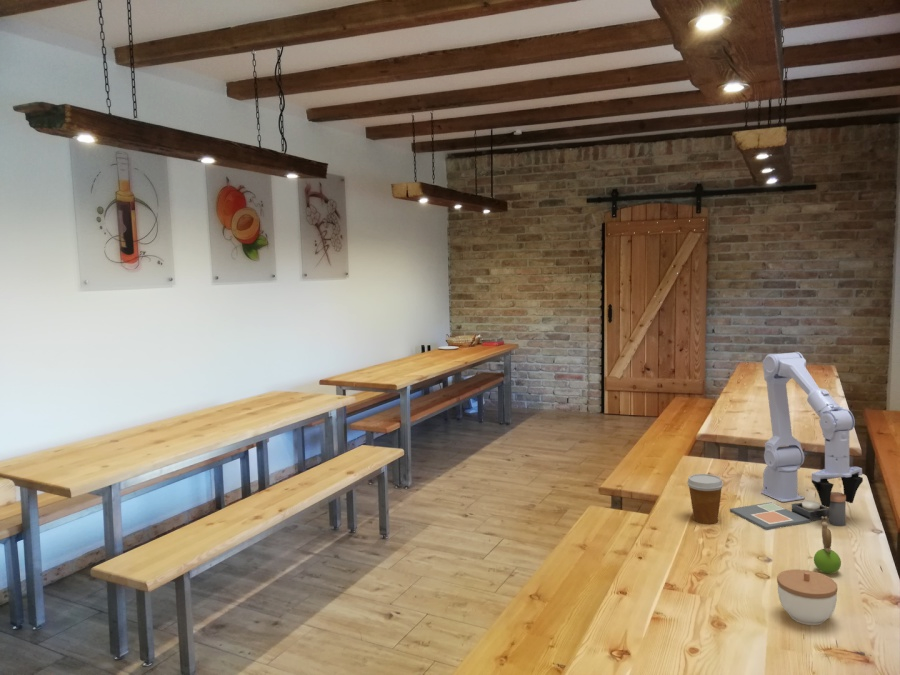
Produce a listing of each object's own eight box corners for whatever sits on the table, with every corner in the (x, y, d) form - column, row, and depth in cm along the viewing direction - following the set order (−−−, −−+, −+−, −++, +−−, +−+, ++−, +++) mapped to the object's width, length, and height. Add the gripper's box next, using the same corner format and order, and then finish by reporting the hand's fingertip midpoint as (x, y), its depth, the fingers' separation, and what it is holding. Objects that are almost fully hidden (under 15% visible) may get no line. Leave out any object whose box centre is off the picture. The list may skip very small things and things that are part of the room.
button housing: (791, 513, 190) (791, 504, 190) (811, 509, 192) (811, 501, 192) (810, 521, 184) (810, 512, 183) (830, 518, 185) (830, 508, 185)
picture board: (729, 511, 194) (729, 508, 194) (771, 504, 197) (771, 501, 197) (765, 530, 180) (765, 526, 179) (809, 522, 183) (809, 519, 183)
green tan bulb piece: (837, 566, 157) (837, 516, 155) (843, 578, 151) (843, 527, 149) (811, 564, 158) (811, 515, 157) (816, 576, 152) (816, 525, 151)
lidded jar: (811, 637, 128) (811, 590, 127) (765, 612, 138) (765, 568, 137) (849, 622, 133) (850, 577, 132) (802, 599, 142) (802, 557, 142)
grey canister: (824, 521, 183) (824, 493, 182) (837, 519, 184) (837, 491, 183) (836, 527, 179) (836, 498, 178) (849, 524, 180) (849, 496, 179)
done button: (798, 507, 189) (798, 501, 189) (811, 505, 190) (811, 499, 190) (810, 512, 185) (810, 506, 185) (823, 510, 186) (823, 504, 186)
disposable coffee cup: (687, 524, 186) (686, 482, 185) (688, 512, 195) (687, 472, 194) (724, 527, 183) (723, 485, 181) (724, 515, 191) (723, 474, 190)
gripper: (826, 461, 174) (826, 512, 175) (871, 455, 177) (871, 504, 179) (805, 455, 181) (805, 503, 182) (850, 448, 184) (850, 496, 185)
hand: (837, 503), depth 181 cm, fingers open, 7 cm apart
